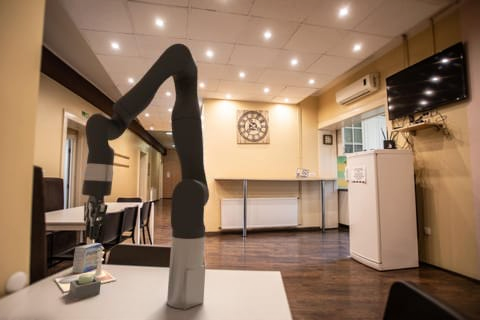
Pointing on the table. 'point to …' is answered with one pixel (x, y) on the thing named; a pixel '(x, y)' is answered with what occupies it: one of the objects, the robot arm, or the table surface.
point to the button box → (84, 289)
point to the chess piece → (100, 266)
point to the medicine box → (86, 258)
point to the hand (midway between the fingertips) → (91, 237)
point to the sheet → (65, 281)
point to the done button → (85, 279)
